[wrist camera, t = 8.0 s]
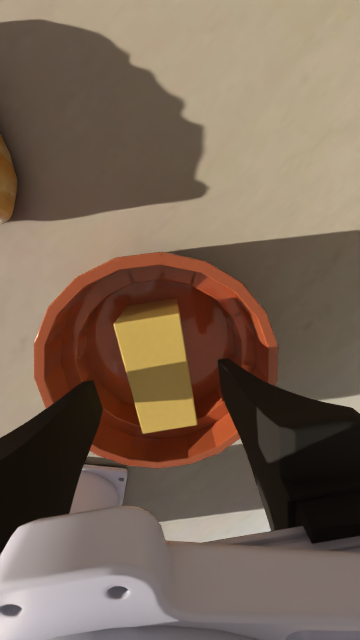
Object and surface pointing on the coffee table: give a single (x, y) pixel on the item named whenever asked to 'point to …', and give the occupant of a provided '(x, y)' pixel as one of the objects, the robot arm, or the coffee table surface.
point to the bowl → (200, 343)
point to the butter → (157, 365)
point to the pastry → (6, 183)
